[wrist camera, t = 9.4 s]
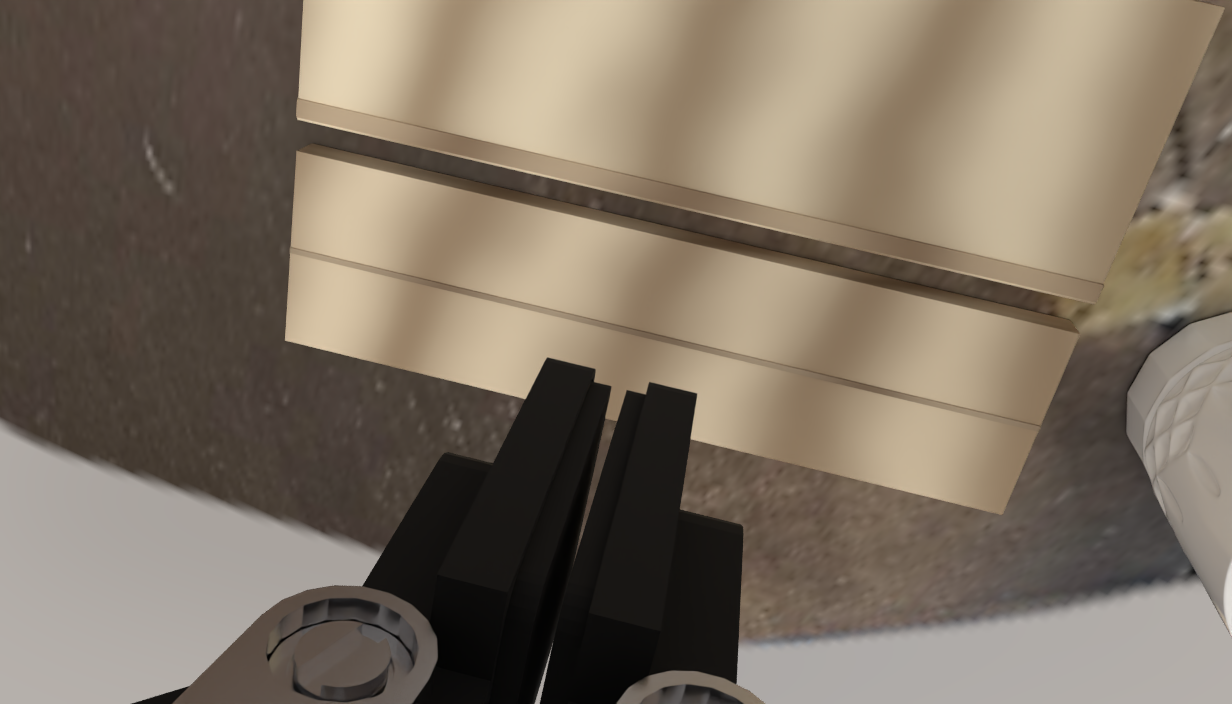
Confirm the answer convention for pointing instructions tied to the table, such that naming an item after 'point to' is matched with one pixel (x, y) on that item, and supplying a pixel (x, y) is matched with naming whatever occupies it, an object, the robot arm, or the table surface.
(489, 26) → the plank
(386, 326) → the laid board
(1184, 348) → the white cup
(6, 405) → the table surface
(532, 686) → the robot arm
